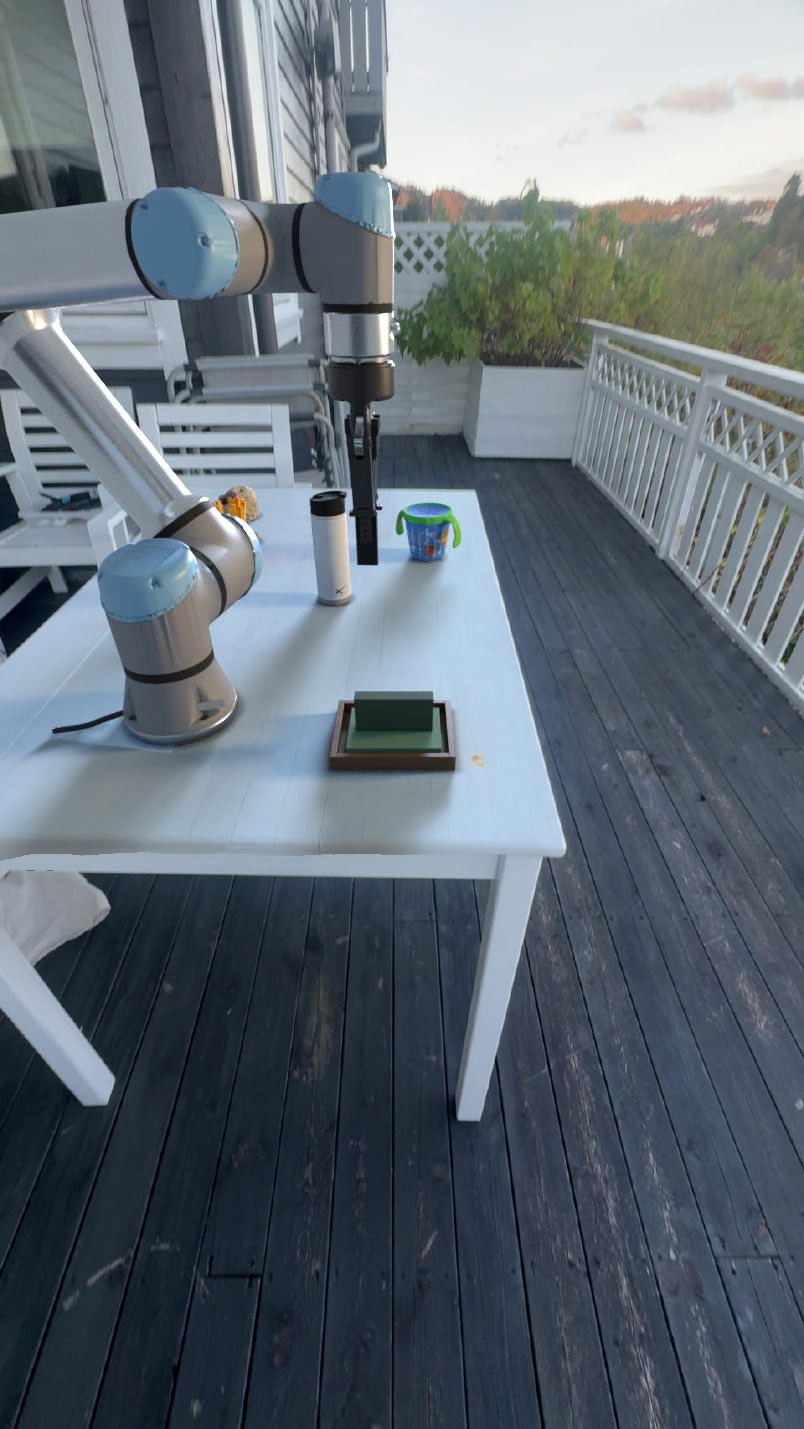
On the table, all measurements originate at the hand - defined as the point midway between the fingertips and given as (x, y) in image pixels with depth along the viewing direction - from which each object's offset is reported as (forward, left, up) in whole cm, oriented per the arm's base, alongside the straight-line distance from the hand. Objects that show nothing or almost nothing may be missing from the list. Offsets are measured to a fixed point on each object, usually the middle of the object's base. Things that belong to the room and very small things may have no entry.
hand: (367, 563), depth 82 cm
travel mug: (-9, +31, -20) cm, 38 cm away
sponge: (-38, +81, -20) cm, 92 cm away
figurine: (-34, +62, -20) cm, 73 cm away
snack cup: (+9, +53, -20) cm, 58 cm away
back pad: (+3, -13, -19) cm, 23 cm away
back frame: (+3, -13, -20) cm, 24 cm away
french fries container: (-31, +46, -20) cm, 59 cm away
